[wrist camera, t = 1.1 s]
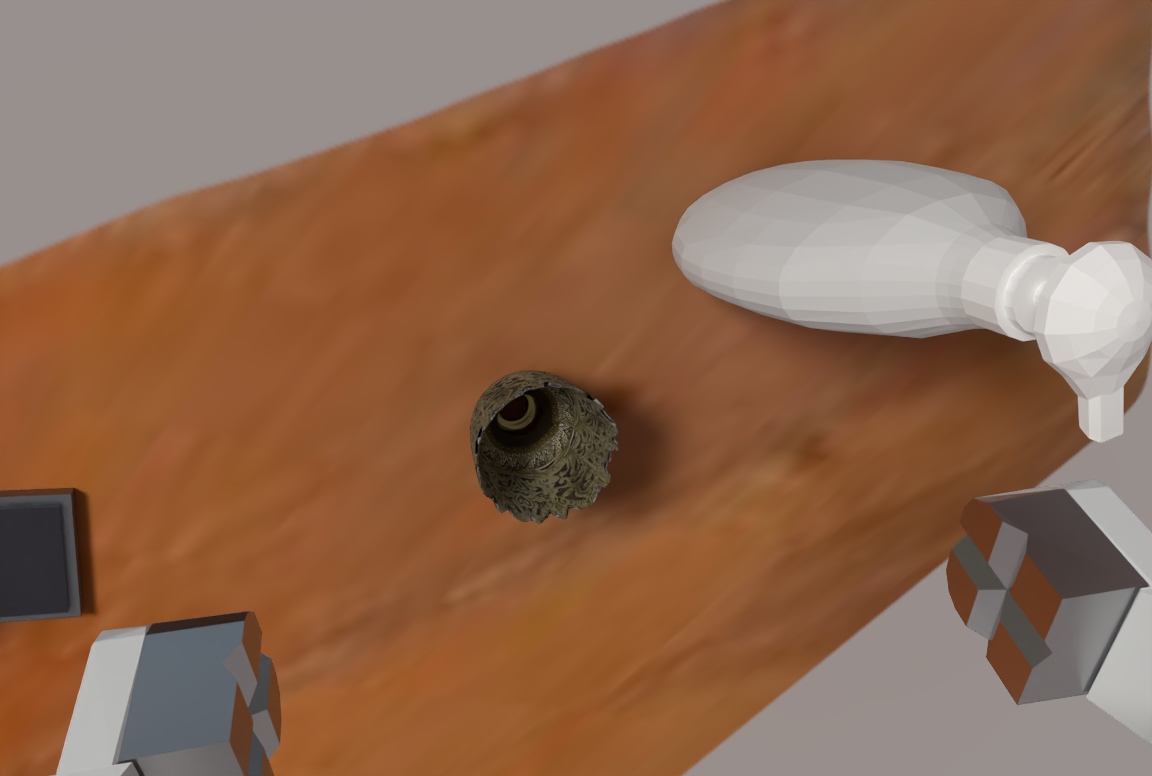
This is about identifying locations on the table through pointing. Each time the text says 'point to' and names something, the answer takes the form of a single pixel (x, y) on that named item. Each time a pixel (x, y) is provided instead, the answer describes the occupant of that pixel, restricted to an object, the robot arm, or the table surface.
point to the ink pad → (39, 555)
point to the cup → (541, 446)
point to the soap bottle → (921, 267)
